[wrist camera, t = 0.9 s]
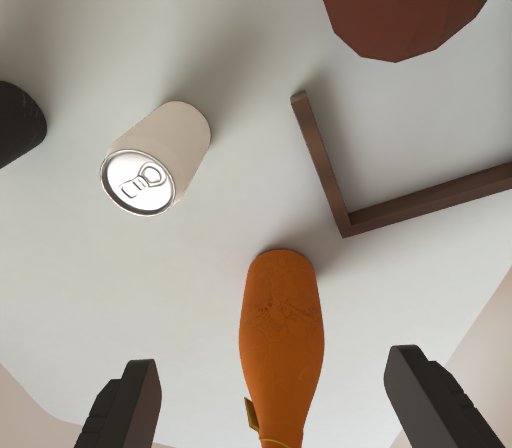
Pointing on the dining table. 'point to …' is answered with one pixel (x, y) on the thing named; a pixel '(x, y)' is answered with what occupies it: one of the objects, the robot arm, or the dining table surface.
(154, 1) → the dining table surface
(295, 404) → the wine bottle
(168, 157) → the can
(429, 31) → the muffin
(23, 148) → the travel mug
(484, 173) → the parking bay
